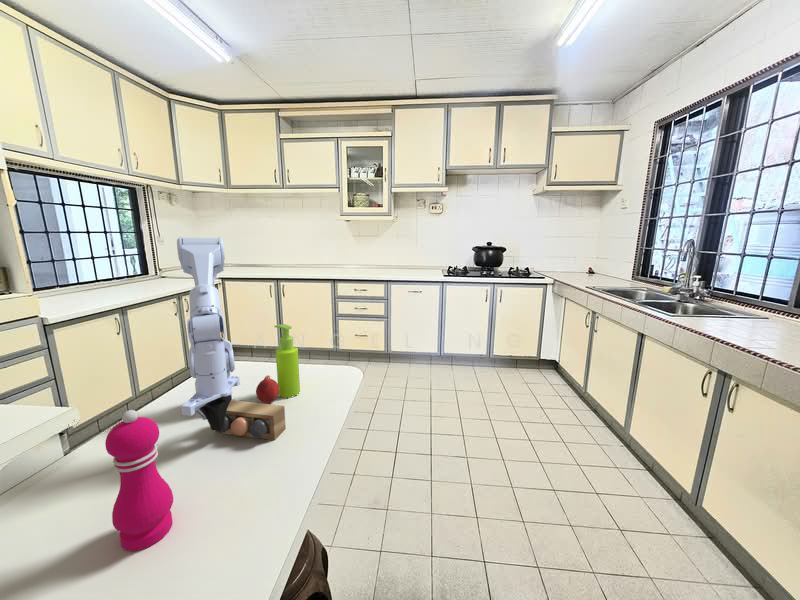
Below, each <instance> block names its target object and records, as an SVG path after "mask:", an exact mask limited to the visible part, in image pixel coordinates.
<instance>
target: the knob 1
mask: <svg viewBox="0 0 800 600" xmlns="http://www.w3.org/2000/svg"><path fill="white" fill-rule="evenodd" d="M232 422H233V415H229V414H226V415H225V418H224V424H223V428H222V430H220V431H217V432H219V433H220V434H225V433H224V432H226V431H227V430H228V429H230V428H231V423H232ZM217 432H216V433H217Z"/></svg>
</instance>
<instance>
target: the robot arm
mask: <svg viewBox="0 0 800 600" xmlns="http://www.w3.org/2000/svg"><path fill="white" fill-rule="evenodd" d="M176 245H177V246H176V248H177V255H178V260H179V263H180V266H181V269H182V271H183V273H184V274H187V275H190V276H192V278H193V280H194V281H193V282H194V286H193V287H192V289H191V290H190V291H189V295H188V298H189V318H188V319H187V321H186V324H187V336H188V341H189V343H190V348H189V349H188V353H189V356H188V362H189V363H188V364H189V366H188V367H189V373H190V376H191V377H192V378H193V379H195V381H194V387H195V388H194V389H195V393H194V394H193V395H192V397H190V398H189V400H188V401H186V402H185V403H184V404H182V405H181V414H182V416H186V417H187V416H189V417H192V416H193V415H195V413H196V412H197V411H198V412H199V413H200V414H201V415H202V416H203V417H205V419H206V421H207V422H208V425H209V427H210V429H211V431H214V432H215V431H220V430H222V428H223V424H224V418H225V414H226V410H227V408H228V405H229V403H230V401H231V400H233V396H232V393H233V389H232V388H234V387H238V386H240V385H241V381H240V376H234V375H231V373H233V372H234V371H235V370H236V367H235V366H236V365H235V356H234V350H233V344H232V342H231V341H229V340H227V339H226V322H225V317H224V314H223V310H222V308H221V306H222V305H221V297H220V290H218V289H217V287H215V282H216V278H217V275H218V274H219V273H222V272H223V271H224V269H225V259H226V258H225V246H224V240H223V238H221V237H220V236H219V237H182V236H179V237H178V238H177V239H176ZM221 333H222V334H223V337H222V336H221Z"/></svg>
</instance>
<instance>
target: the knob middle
mask: <svg viewBox="0 0 800 600" xmlns="http://www.w3.org/2000/svg"><path fill="white" fill-rule="evenodd" d="M250 425H251V417H246V416H244V417H238V418H237V419H236V420H234V421H233V422H232V423H231V430H232V432H233V433H234V434H235V436H240V437H242V436H241V435H243V434H244V433H246V432H247V431H248V430H249V427H250Z"/></svg>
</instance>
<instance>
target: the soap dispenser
mask: <svg viewBox="0 0 800 600" xmlns="http://www.w3.org/2000/svg"><path fill="white" fill-rule="evenodd" d="M274 328H279V329H282V330H281V331H282V336H281V337H280V338H279V348H277V349H276V350H275V360H276V375H277V384H278V385H279V388H280V391H279V395H280V396H281V397H280V396H279V395H278V396H279V397H280V398H282V397H291V398H293V397H292V396H295V395H297V394H298V395H299V394H300V393H299V392H301V387H300V384H301V383H300V368H299V367H300V366H299V349H298V347H296V346H294V343H293V341H294V340H293V336H291V335H290V330H291V329H293V327H292V325H288V324H285V323H282V324H278V325H274ZM298 395H297V396H298ZM295 397H296V396H295Z"/></svg>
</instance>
